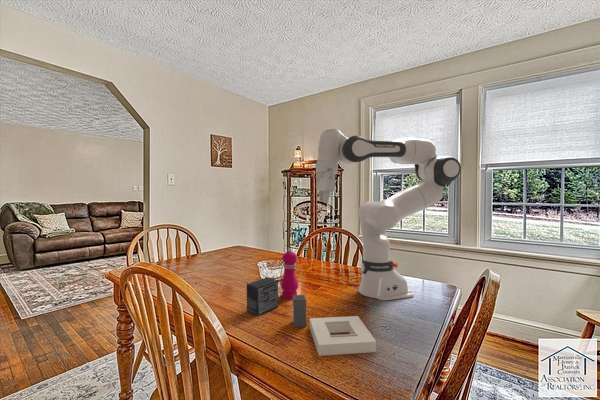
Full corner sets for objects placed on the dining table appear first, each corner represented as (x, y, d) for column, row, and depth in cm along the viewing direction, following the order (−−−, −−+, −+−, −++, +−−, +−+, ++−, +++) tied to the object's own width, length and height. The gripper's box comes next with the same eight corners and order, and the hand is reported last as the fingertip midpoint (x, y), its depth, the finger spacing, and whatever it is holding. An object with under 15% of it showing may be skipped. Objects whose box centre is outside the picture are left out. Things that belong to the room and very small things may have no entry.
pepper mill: (296, 300, 118) (296, 250, 117) (278, 298, 120) (278, 249, 119) (299, 293, 125) (300, 246, 124) (283, 292, 127) (283, 246, 126)
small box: (266, 302, 115) (266, 276, 115) (279, 307, 111) (279, 279, 111) (245, 311, 107) (245, 283, 107) (258, 316, 103) (258, 287, 103)
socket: (357, 324, 97) (357, 315, 97) (376, 352, 81) (376, 340, 81) (309, 327, 95) (309, 317, 95) (318, 355, 79) (318, 343, 79)
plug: (304, 320, 100) (304, 294, 100) (306, 326, 96) (306, 299, 96) (292, 321, 100) (292, 295, 99) (293, 327, 96) (293, 299, 95)
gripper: (340, 168, 112) (336, 204, 113) (328, 171, 132) (325, 201, 133) (324, 166, 111) (320, 203, 112) (315, 169, 132) (311, 200, 132)
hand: (323, 202), depth 122 cm, fingers open, 8 cm apart
